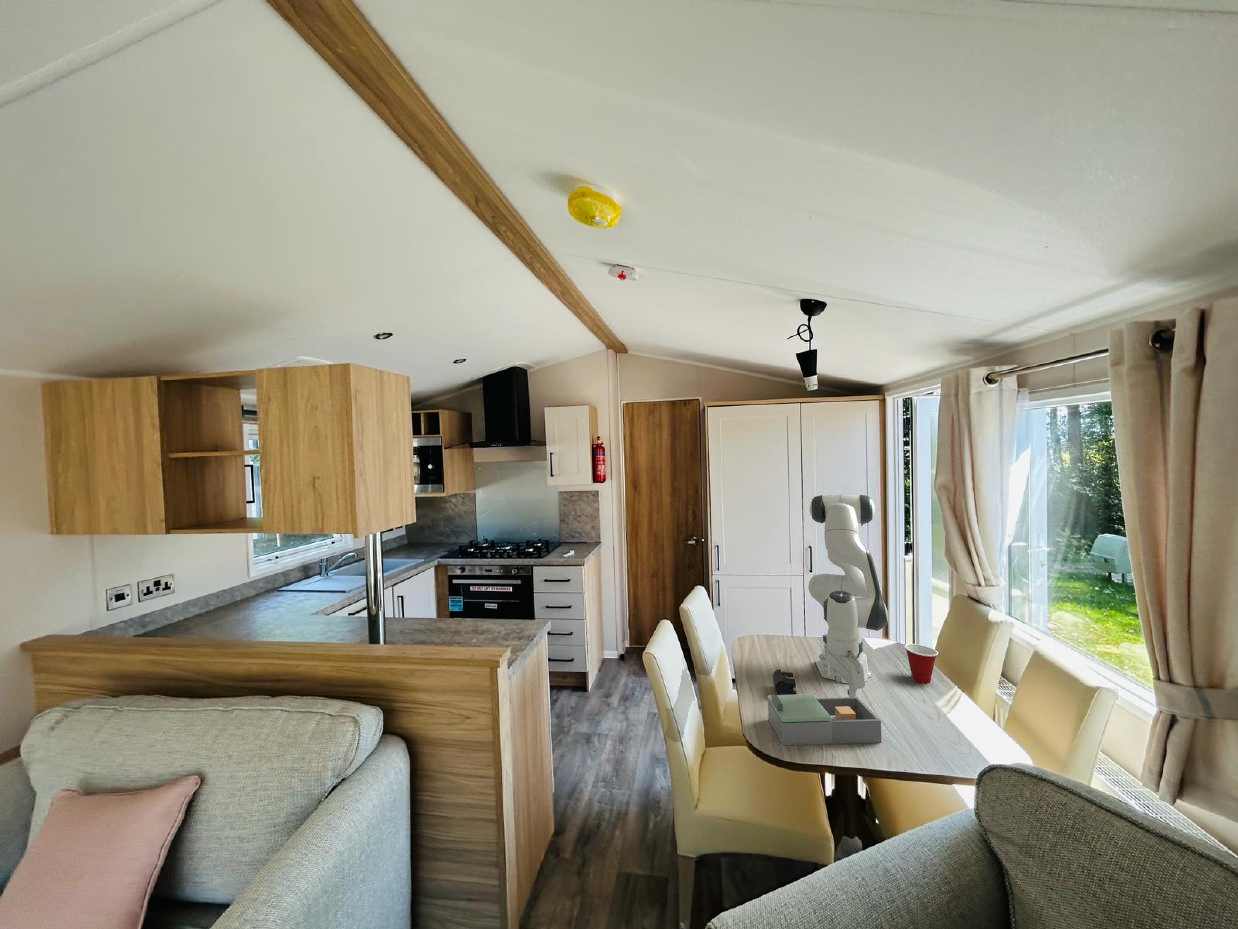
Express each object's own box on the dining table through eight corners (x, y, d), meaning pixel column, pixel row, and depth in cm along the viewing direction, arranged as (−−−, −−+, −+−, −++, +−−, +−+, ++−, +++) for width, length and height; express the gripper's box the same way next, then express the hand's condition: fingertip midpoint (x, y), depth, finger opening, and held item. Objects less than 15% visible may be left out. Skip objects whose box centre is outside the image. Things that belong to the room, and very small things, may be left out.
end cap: (772, 686, 184) (772, 668, 184) (792, 687, 183) (792, 669, 183) (775, 699, 175) (774, 680, 175) (796, 700, 173) (795, 681, 173)
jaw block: (835, 724, 156) (834, 706, 156) (849, 723, 156) (849, 706, 156) (841, 731, 151) (841, 714, 151) (856, 731, 151) (855, 713, 151)
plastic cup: (942, 688, 178) (941, 655, 178) (908, 684, 182) (907, 652, 182) (935, 675, 188) (934, 644, 188) (903, 672, 192) (902, 641, 192)
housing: (768, 719, 161) (767, 699, 161) (858, 716, 161) (857, 697, 161) (782, 745, 146) (782, 723, 146) (881, 742, 146) (880, 720, 146)
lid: (767, 698, 161) (767, 688, 161) (812, 697, 161) (812, 687, 161) (782, 722, 146) (781, 711, 146) (831, 720, 146) (831, 710, 146)
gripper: (870, 659, 143) (871, 705, 144) (839, 632, 164) (840, 673, 164) (848, 660, 143) (849, 706, 144) (820, 633, 164) (821, 674, 164)
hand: (844, 688), depth 154 cm, fingers open, 8 cm apart
